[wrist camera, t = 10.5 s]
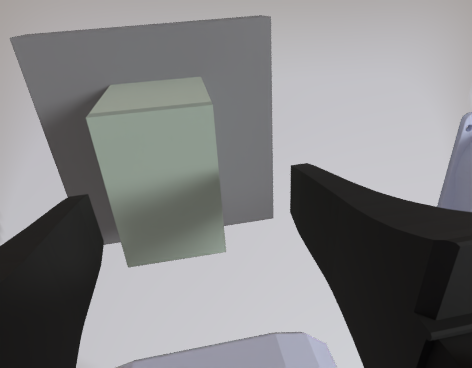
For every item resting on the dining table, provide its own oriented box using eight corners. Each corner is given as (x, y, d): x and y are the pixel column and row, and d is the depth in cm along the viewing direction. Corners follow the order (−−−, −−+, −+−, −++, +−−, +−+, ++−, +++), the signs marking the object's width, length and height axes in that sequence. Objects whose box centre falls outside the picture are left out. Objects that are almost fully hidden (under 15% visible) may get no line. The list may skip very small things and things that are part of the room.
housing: (200, 76, 17) (212, 104, 12) (213, 194, 20) (226, 251, 16) (110, 84, 16) (85, 117, 12) (138, 204, 20) (128, 267, 15)
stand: (265, 202, 24) (273, 218, 22) (92, 228, 22) (86, 247, 21) (261, 15, 18) (270, 16, 16) (26, 34, 16) (9, 37, 15)
